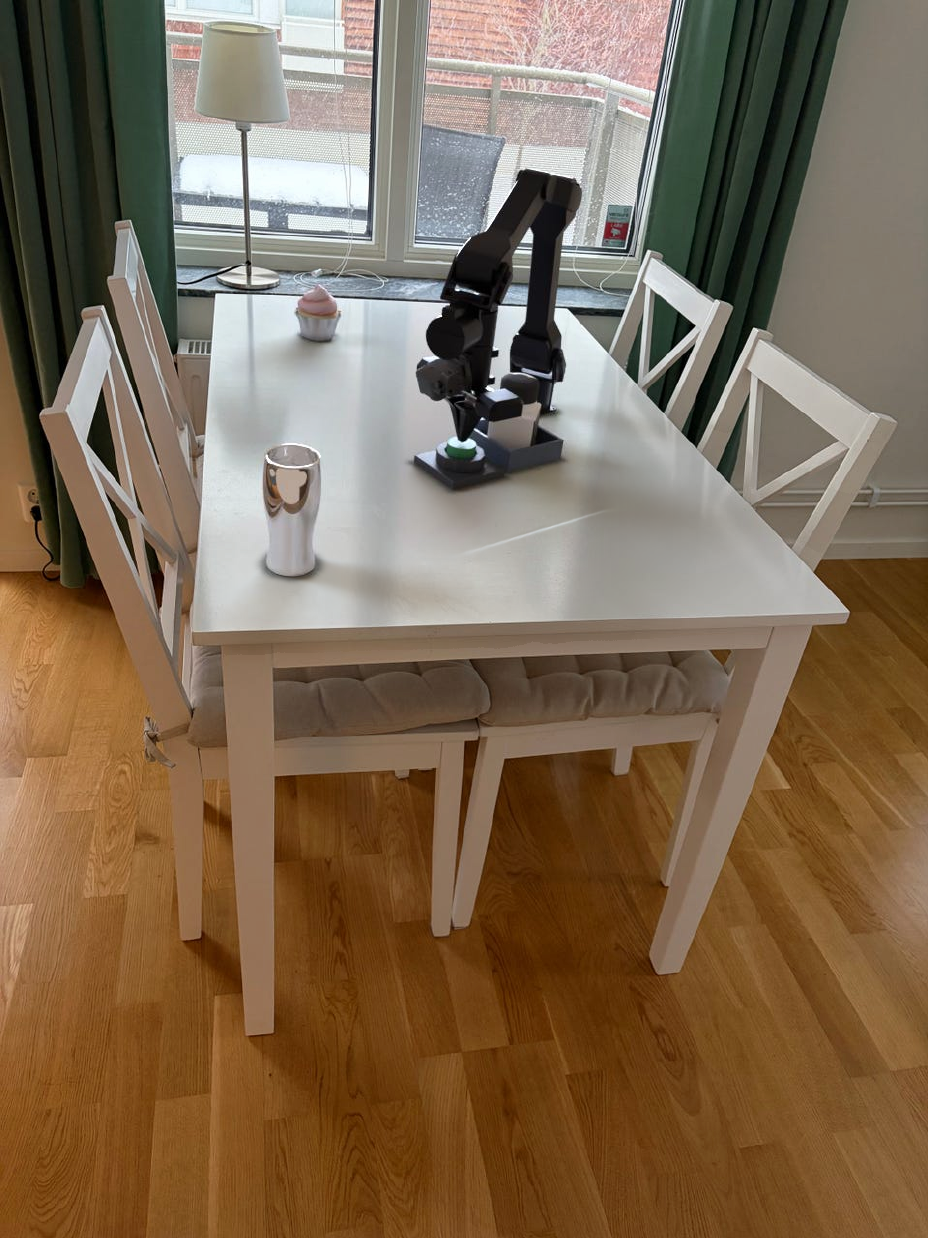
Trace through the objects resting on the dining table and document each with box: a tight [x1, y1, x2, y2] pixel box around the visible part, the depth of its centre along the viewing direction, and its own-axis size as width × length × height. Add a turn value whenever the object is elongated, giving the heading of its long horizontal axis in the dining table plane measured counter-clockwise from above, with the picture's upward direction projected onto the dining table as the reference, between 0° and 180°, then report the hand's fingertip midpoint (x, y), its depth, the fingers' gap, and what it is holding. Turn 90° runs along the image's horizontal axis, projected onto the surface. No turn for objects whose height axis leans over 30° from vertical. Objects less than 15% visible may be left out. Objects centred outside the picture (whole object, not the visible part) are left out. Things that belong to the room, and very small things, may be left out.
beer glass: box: [261, 443, 322, 577], centre depth 121 cm, size 7×7×15 cm
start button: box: [446, 436, 476, 459], centre depth 151 cm, size 4×4×2 cm
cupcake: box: [293, 283, 342, 342], centre depth 192 cm, size 9×9×10 cm
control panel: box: [413, 441, 506, 491], centre depth 152 cm, size 10×10×3 cm
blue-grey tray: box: [469, 418, 565, 474], centre depth 160 cm, size 11×12×3 cm
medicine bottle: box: [487, 372, 541, 451], centre depth 157 cm, size 7×7×12 cm
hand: (462, 440), depth 150 cm, fingers closed
